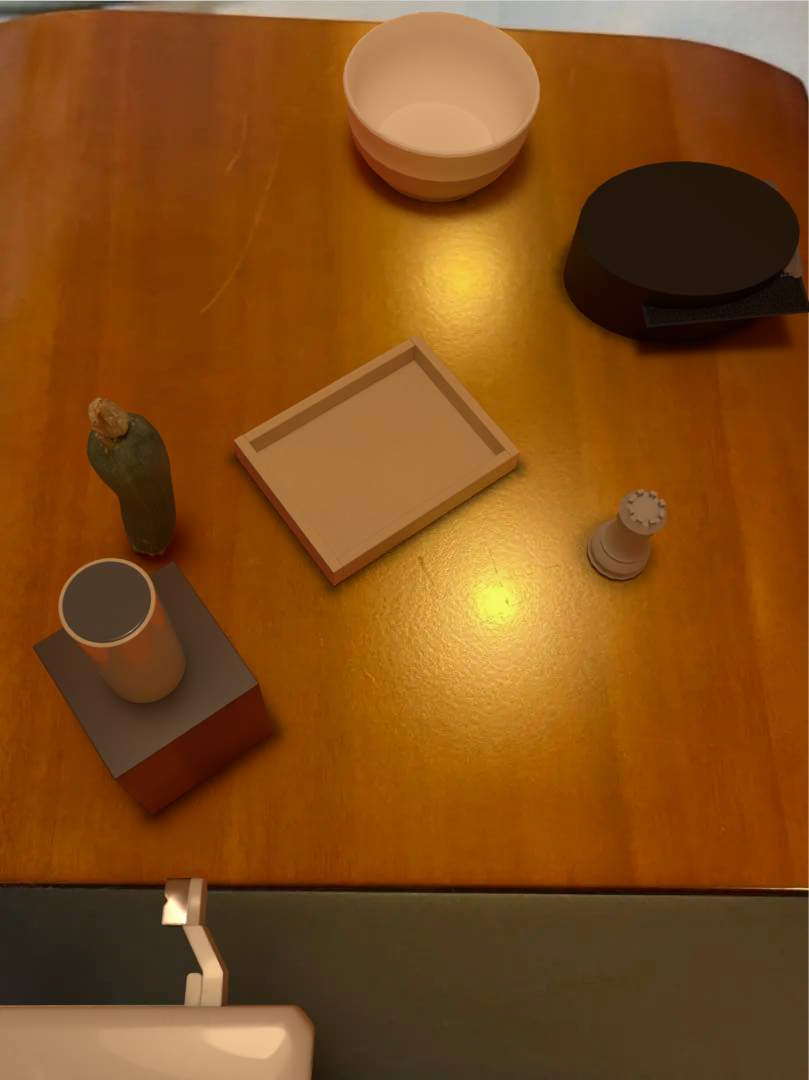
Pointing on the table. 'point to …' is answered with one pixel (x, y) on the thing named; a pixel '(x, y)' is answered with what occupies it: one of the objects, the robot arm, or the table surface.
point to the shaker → (123, 629)
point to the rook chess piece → (627, 535)
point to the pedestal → (166, 704)
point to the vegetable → (134, 473)
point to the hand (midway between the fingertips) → (69, 878)
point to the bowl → (439, 103)
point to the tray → (375, 457)
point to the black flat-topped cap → (685, 253)
